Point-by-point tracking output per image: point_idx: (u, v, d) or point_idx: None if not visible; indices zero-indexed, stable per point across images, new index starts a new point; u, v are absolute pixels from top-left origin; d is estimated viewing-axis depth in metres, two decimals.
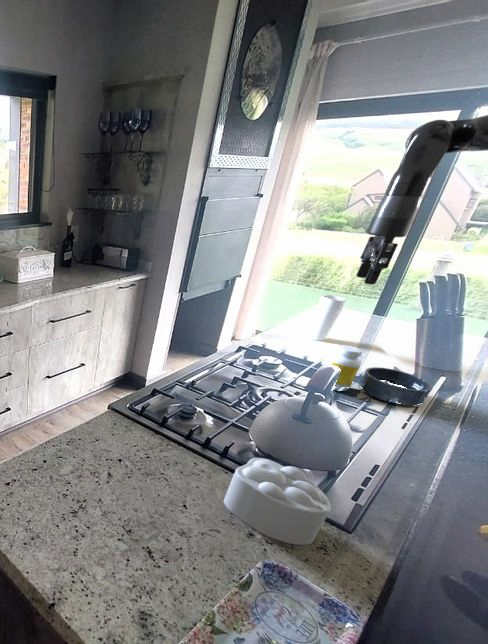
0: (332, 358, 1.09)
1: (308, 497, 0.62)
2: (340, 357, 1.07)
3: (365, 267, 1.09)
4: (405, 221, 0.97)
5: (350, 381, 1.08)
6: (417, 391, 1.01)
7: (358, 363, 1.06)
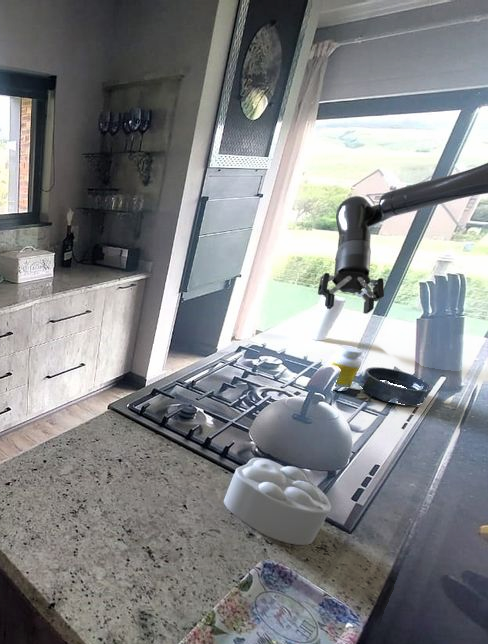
0: (332, 358, 1.09)
1: (308, 497, 0.62)
2: (340, 357, 1.07)
3: (366, 303, 1.12)
4: (341, 258, 1.16)
5: (350, 381, 1.08)
6: (417, 391, 1.01)
7: (358, 363, 1.06)
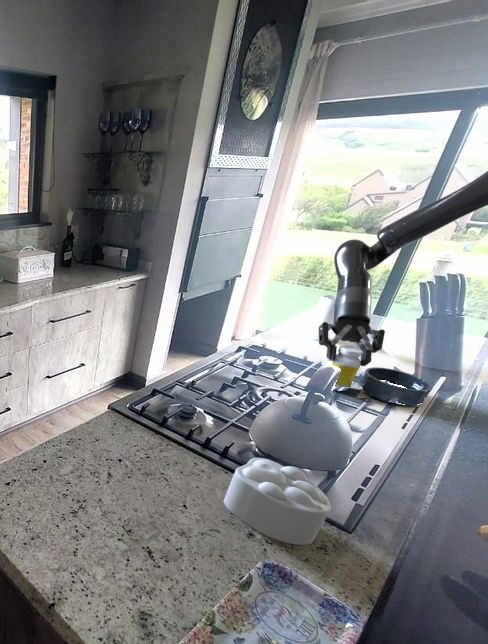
0: None
1: (308, 497, 0.62)
2: (340, 357, 1.07)
3: (363, 355, 1.06)
4: (340, 305, 1.10)
5: (350, 381, 1.08)
6: (417, 391, 1.01)
7: (358, 363, 1.06)
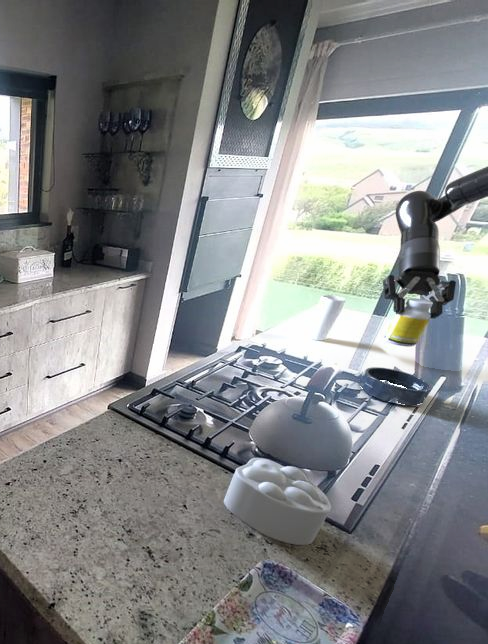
0: None
1: (308, 497, 0.62)
2: (408, 310, 1.04)
3: (433, 307, 1.03)
4: (406, 257, 1.07)
5: (419, 335, 1.04)
6: (417, 391, 1.01)
7: (428, 315, 1.02)
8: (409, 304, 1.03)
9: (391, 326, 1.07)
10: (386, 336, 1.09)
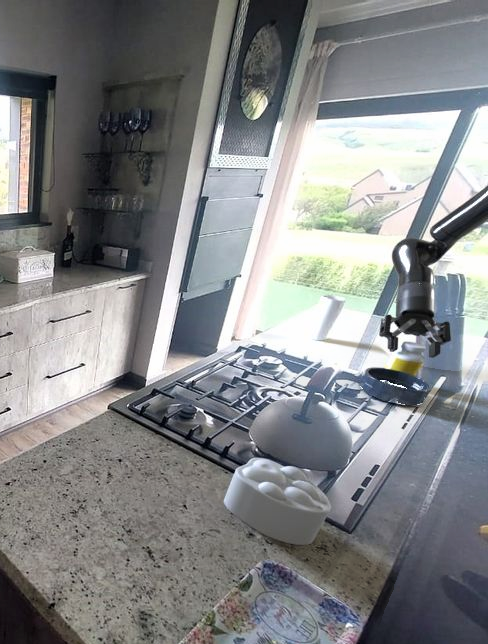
0: (395, 354, 1.12)
1: (308, 497, 0.62)
2: (403, 353, 1.11)
3: (431, 347, 1.09)
4: (403, 300, 1.13)
5: None
6: (417, 391, 1.01)
7: (422, 358, 1.09)
8: (404, 347, 1.11)
9: (387, 366, 1.15)
10: None
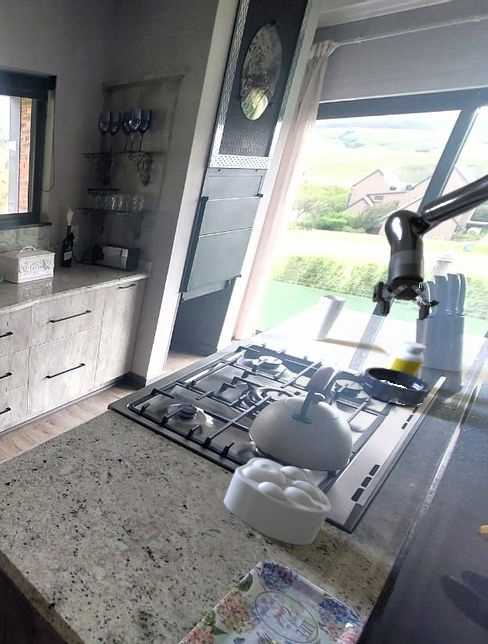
0: (395, 354, 1.12)
1: (308, 497, 0.62)
2: (403, 353, 1.11)
3: (421, 310, 1.17)
4: (395, 267, 1.21)
5: None
6: (417, 391, 1.01)
7: (422, 358, 1.09)
8: (404, 347, 1.11)
9: (387, 366, 1.15)
10: None
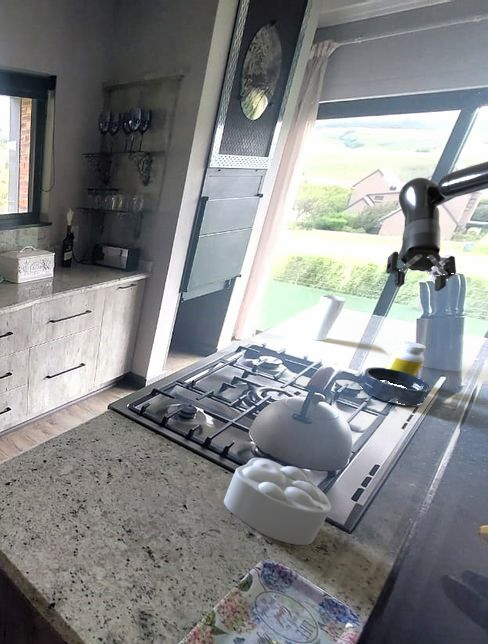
0: (395, 354, 1.12)
1: (308, 497, 0.62)
2: (403, 353, 1.11)
3: (437, 281, 1.13)
4: (410, 237, 1.17)
5: None
6: (417, 391, 1.01)
7: (422, 358, 1.09)
8: (404, 347, 1.11)
9: (387, 366, 1.15)
10: None
